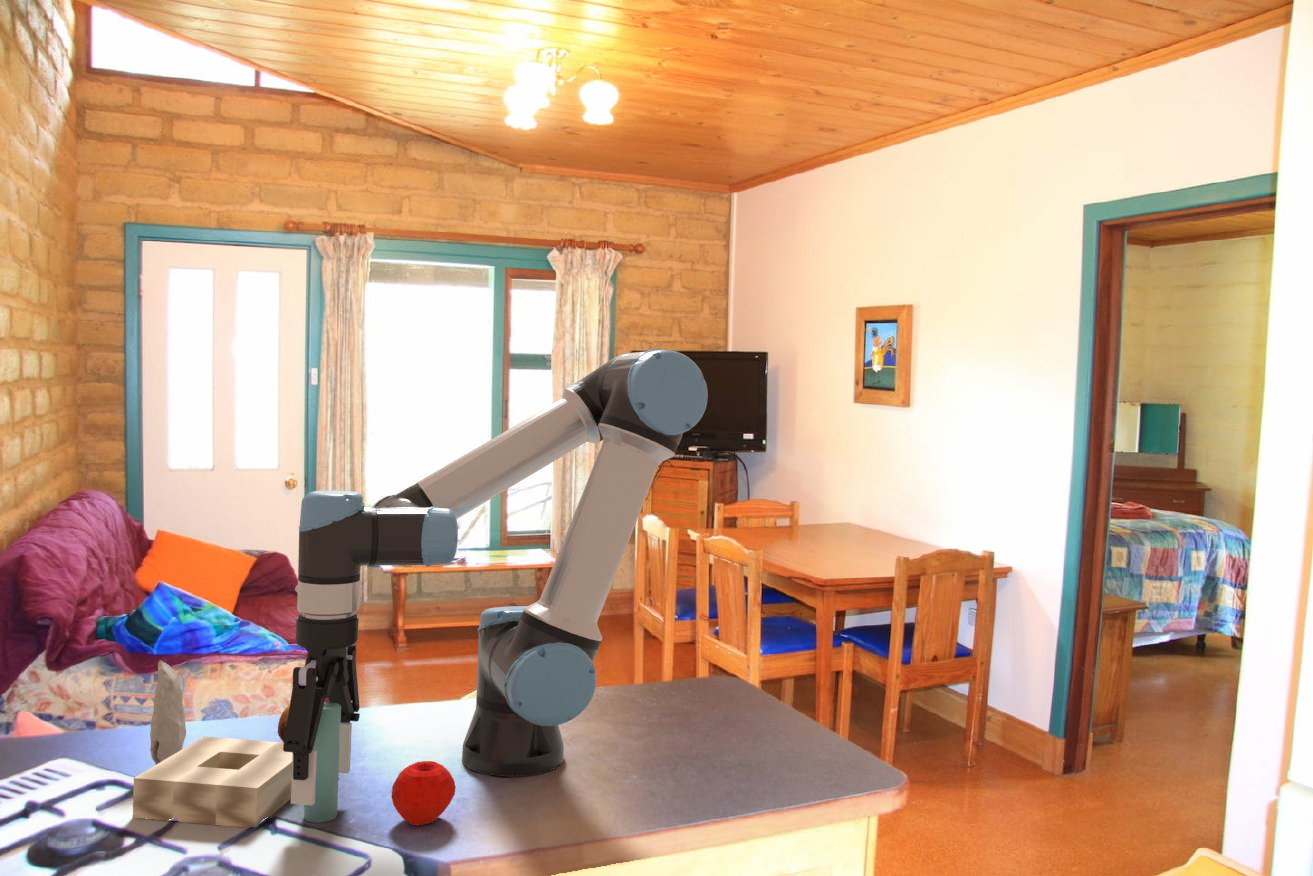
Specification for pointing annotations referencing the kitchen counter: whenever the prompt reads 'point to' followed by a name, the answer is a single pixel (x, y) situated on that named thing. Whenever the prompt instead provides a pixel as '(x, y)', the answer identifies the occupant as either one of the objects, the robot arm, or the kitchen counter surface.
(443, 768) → the apple
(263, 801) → the socket block
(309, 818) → the peg
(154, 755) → the stone tool
